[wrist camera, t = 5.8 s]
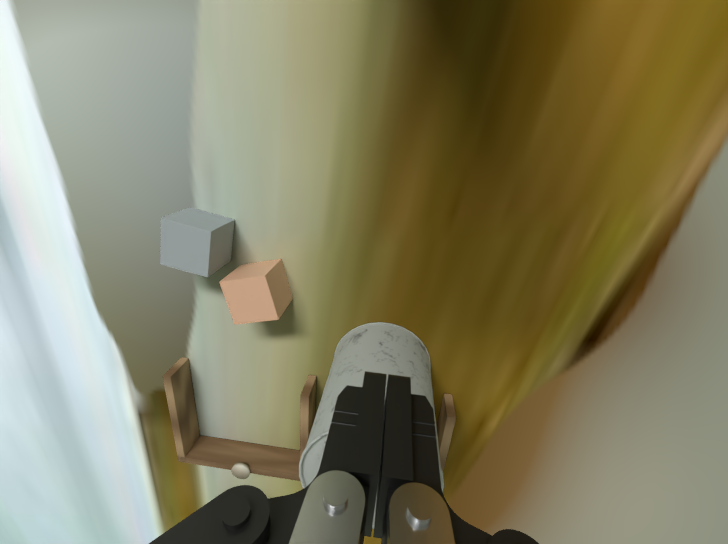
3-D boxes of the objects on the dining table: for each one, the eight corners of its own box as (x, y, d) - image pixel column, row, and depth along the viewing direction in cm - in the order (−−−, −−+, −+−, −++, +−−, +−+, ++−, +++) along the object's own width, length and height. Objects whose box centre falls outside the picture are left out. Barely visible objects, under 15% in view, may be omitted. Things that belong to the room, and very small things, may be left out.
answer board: (181, 357, 36) (159, 378, 33) (451, 394, 34) (456, 421, 31) (194, 442, 41) (177, 468, 38) (432, 479, 39) (435, 510, 36)
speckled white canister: (432, 323, 31) (448, 430, 20) (429, 404, 35) (441, 535, 23) (330, 320, 32) (290, 421, 21) (337, 400, 36) (306, 522, 25)
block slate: (191, 207, 30) (160, 217, 26) (235, 219, 30) (211, 231, 26) (189, 248, 31) (160, 264, 28) (231, 260, 31) (207, 277, 28)
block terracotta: (241, 264, 31) (219, 281, 28) (281, 258, 31) (264, 275, 27) (253, 303, 33) (234, 324, 29) (293, 298, 32) (278, 319, 28)
